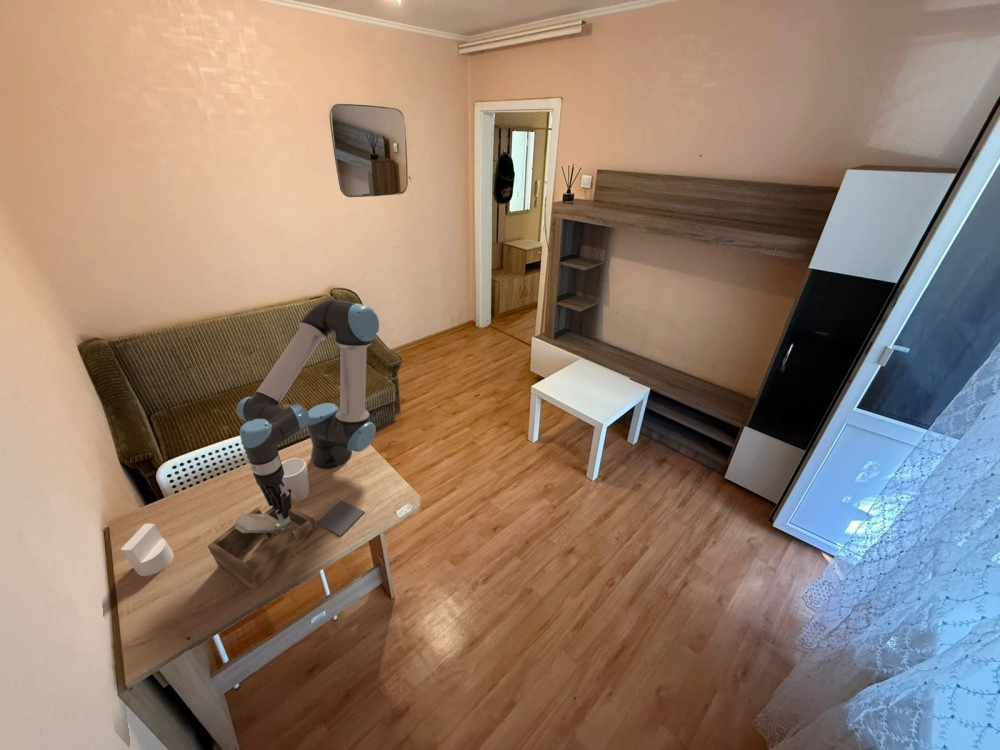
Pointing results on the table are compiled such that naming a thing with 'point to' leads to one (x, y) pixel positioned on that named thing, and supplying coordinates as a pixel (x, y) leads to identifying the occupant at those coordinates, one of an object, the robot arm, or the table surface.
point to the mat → (340, 518)
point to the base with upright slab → (148, 551)
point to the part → (257, 521)
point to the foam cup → (296, 478)
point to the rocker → (277, 529)
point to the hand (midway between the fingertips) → (285, 523)
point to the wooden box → (268, 556)
